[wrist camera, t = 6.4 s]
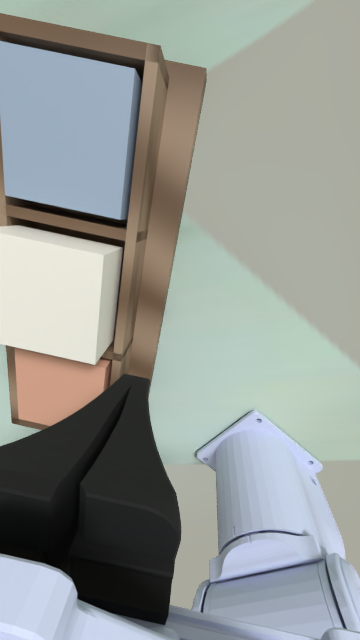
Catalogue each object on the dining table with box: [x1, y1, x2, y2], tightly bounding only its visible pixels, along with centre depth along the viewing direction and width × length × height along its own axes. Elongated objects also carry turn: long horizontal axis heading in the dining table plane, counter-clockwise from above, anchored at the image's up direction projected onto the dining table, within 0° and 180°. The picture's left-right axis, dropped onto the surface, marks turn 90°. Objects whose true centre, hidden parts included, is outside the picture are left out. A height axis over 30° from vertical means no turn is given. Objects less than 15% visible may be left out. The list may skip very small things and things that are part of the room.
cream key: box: [0, 225, 123, 365], centre depth 16 cm, size 6×6×3 cm
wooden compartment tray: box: [0, 13, 206, 430], centre depth 19 cm, size 26×12×4 cm, turn 169°
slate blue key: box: [0, 41, 143, 220], centre depth 14 cm, size 6×6×3 cm
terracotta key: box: [14, 347, 112, 426], centre depth 21 cm, size 6×6×3 cm
